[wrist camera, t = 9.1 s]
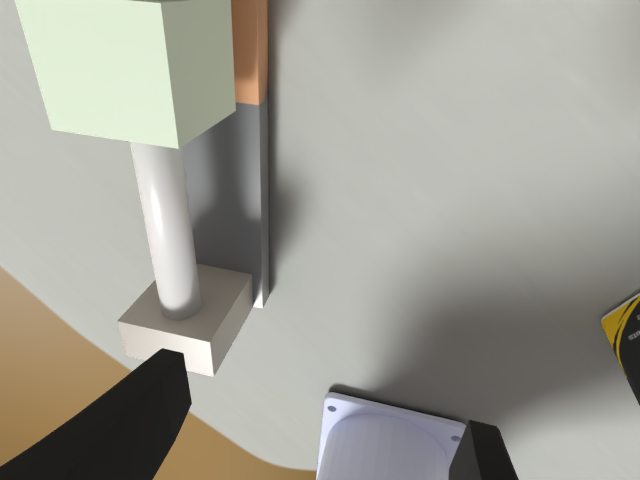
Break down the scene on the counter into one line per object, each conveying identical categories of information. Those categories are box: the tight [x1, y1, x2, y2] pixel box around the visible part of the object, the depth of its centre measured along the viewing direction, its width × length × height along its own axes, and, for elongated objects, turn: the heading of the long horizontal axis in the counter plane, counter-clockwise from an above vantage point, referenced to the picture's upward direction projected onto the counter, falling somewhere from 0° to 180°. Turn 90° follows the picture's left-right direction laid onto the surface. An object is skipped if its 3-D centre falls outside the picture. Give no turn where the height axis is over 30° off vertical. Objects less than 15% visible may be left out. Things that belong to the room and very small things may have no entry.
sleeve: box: [15, 0, 236, 149], centre depth 13 cm, size 4×4×4 cm
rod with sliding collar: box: [117, 0, 269, 377], centre depth 16 cm, size 16×5×6 cm, turn 176°
